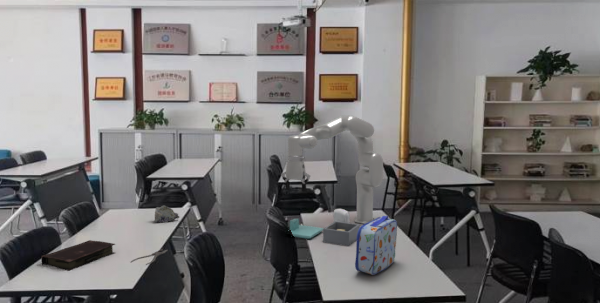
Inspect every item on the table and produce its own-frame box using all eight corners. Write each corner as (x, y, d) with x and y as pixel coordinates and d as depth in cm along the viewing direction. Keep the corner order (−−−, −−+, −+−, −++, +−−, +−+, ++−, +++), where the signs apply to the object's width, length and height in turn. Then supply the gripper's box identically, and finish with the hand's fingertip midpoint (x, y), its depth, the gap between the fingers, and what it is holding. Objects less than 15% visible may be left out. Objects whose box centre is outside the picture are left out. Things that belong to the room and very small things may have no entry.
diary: (41, 266, 199) (40, 254, 199) (89, 249, 222) (88, 239, 221) (70, 272, 192) (69, 260, 191) (117, 254, 214) (116, 243, 214)
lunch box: (377, 256, 211) (378, 210, 209) (399, 260, 206) (400, 213, 203) (352, 275, 188) (352, 223, 185) (375, 280, 182) (376, 227, 180)
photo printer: (332, 229, 254) (332, 208, 253) (337, 228, 257) (338, 206, 256) (345, 233, 247) (345, 211, 245) (350, 232, 249) (351, 210, 248)
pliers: (128, 262, 200) (149, 248, 220) (128, 264, 200) (149, 249, 220) (148, 264, 199) (168, 249, 219) (148, 265, 199) (168, 250, 219)
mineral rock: (180, 220, 273) (180, 204, 272) (170, 225, 263) (170, 208, 262) (161, 218, 277) (161, 202, 275) (151, 223, 266) (150, 206, 265)
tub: (334, 233, 246) (335, 221, 245) (359, 237, 240) (359, 224, 239) (323, 242, 232) (323, 228, 231) (348, 246, 226) (349, 232, 225)
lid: (299, 229, 256) (299, 216, 255) (323, 232, 250) (323, 219, 249) (284, 237, 241) (284, 223, 240) (310, 241, 234) (310, 227, 234)
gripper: (312, 158, 243) (313, 190, 245) (284, 157, 251) (284, 187, 253) (306, 160, 236) (307, 192, 238) (277, 158, 244) (278, 189, 246)
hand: (295, 189), depth 245 cm, fingers open, 9 cm apart
